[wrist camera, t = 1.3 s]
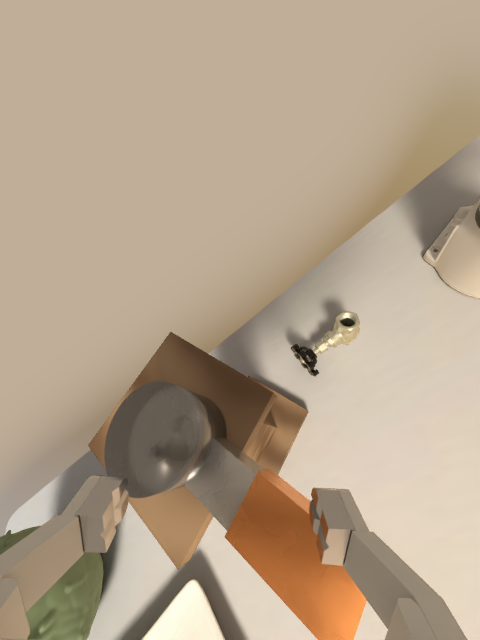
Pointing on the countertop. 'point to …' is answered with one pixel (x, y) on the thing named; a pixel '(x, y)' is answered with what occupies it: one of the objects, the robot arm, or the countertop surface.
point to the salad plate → (187, 617)
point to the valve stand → (242, 430)
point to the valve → (330, 340)
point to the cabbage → (64, 597)
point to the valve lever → (231, 499)
